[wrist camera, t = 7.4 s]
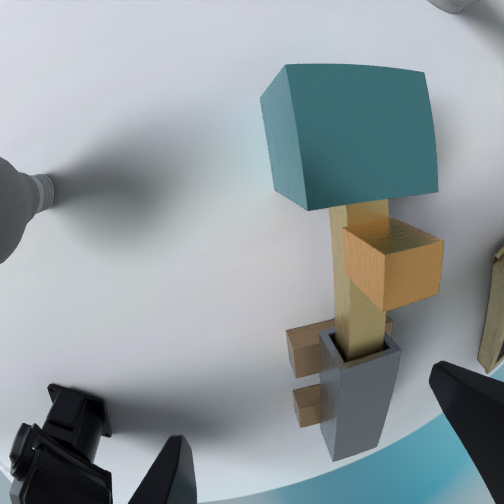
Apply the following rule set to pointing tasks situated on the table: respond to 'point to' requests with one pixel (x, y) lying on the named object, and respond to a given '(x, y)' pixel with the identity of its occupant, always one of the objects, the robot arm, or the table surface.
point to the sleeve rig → (344, 193)
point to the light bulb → (20, 204)
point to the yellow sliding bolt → (377, 272)
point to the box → (494, 318)
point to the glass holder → (451, 5)
